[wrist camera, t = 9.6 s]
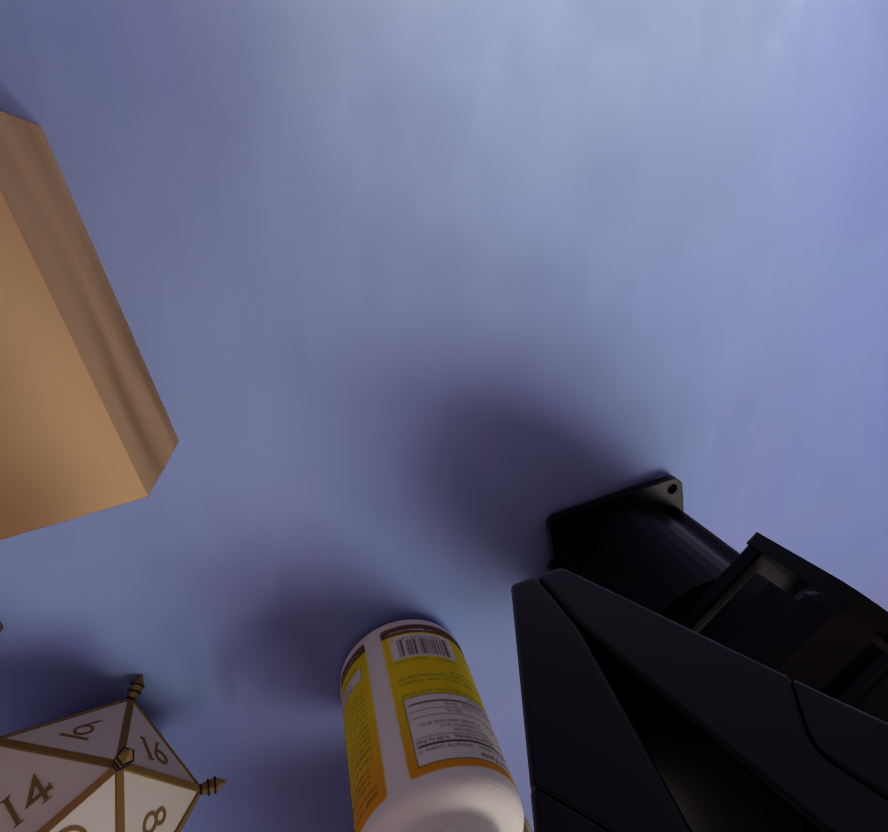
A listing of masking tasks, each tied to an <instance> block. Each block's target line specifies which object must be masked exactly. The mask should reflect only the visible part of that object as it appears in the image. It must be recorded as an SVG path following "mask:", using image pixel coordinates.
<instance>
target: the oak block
mask: <svg viewBox="0 0 888 832" xmlns="http://www.w3.org/2000/svg"><path fill="white" fill-rule="evenodd" d="M178 442H179V441H178V438H177V436H176V434H175V431H174V429H173V427H172V425H171V422H170V420H169V418H168V415H167V413H166V411H165V409H164V406H163V404H162V402H161V399H160V397H159V395H158V393H157V390H156V388H155V386H154V383H153V381H152V379H151V377H150V374H149V372H148V370H147V368H146V365H145V363H144V361H143V358H142V356H141V354H140V352H139V349H138V347H137V345H136V342H135V340H134V338H133V336H132V333H131V331H130V329H129V326H128V324H127V322H126V320H125V317H124V315H123V313H122V310H121V308H120V306H119V304H118V301H117V299H116V297H115V294H114V292H113V290H112V288H111V285H110V283H109V281H108V279H107V276H106V274H105V272H104V269H103V267H102V265H101V263H100V260H99V258H98V256H97V253H96V251H95V249H94V247H93V244H92V242H91V240H90V237H89V235H88V233H87V231H86V228H85V226H84V224H83V221H82V219H81V217H80V215H79V212H78V210H77V208H76V205H75V203H74V201H73V199H72V196H71V194H70V192H69V190H68V187H67V185H66V183H65V180H64V178H63V176H62V174H61V171H60V169H59V167H58V164H57V162H56V160H55V158H54V155H53V153H52V151H51V148H50V146H49V144H48V142H47V139H46V137H45V135H44V132H43V130H42V128H41V126H39V125H36V124H34V123H31V122H28V121H26V120H23V119H21V118H18V117H15V116H13V115H10V114H8V113H5V112H2V111H0V540H1V539H5V538H8V537H12V536H15V535H19V534H22V533H25V532H29V531H32V530H36V529H39V528H42V527H46V526H49V525H53V524H56V523H59V522H63V521H66V520H70V519H73V518H76V517H80V516H83V515H87V514H90V513H94V512H97V511H100V510H104V509H107V508H111V507H114V506H117V505H121V504H124V503H128V502H131V501H134V500H138V499H141V498H145V497H148V496H149V494H150V492H151V490H152V489H153V487H154V485H155V483H156V481H157V480H158V478H159V476H160V474H161V472H162V471H163V469H164V467H165V465H166V463H167V462H168V460H169V458H170V456H171V454H172V453H173V451H174V449H175V447H176V445H177V444H178Z"/></svg>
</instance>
